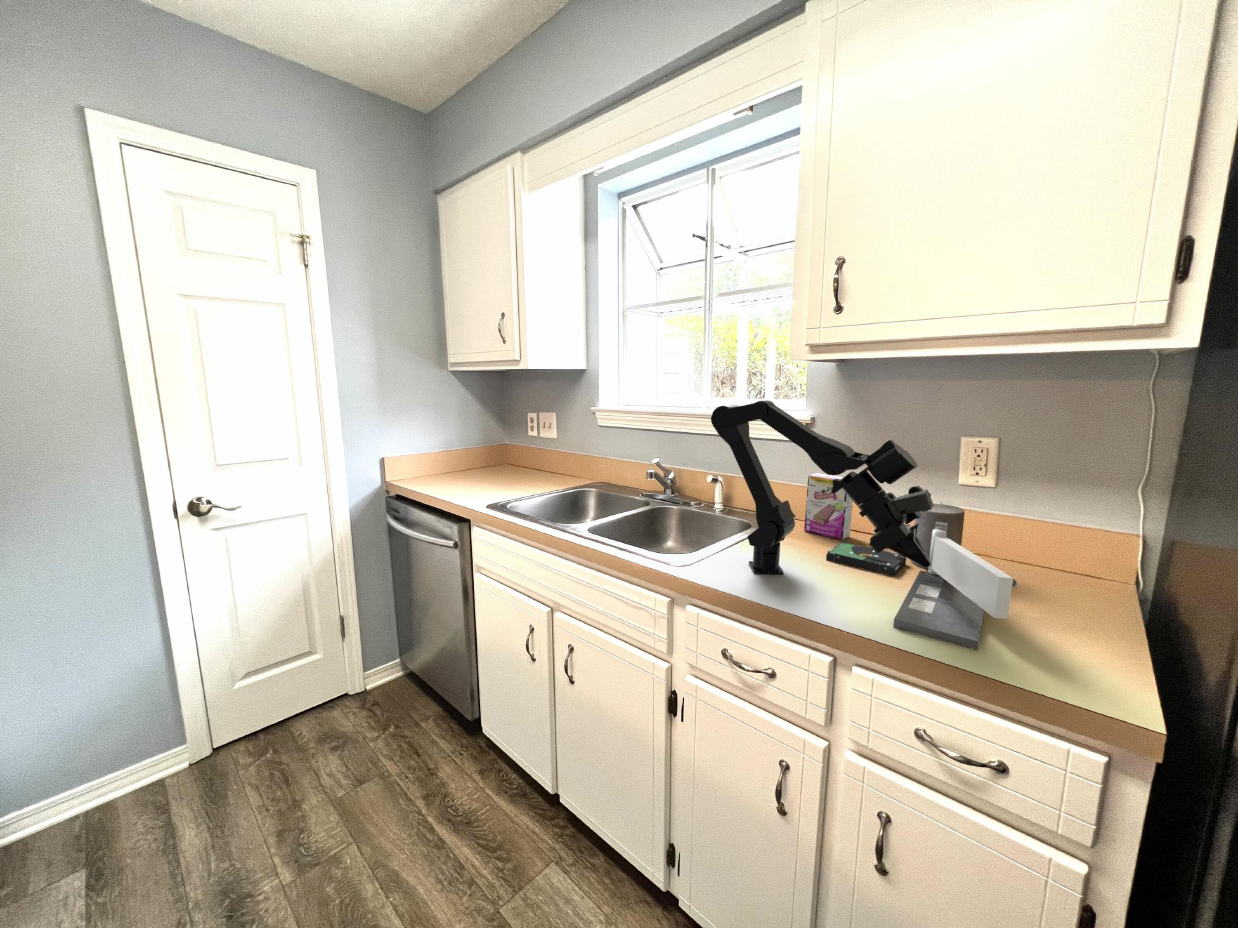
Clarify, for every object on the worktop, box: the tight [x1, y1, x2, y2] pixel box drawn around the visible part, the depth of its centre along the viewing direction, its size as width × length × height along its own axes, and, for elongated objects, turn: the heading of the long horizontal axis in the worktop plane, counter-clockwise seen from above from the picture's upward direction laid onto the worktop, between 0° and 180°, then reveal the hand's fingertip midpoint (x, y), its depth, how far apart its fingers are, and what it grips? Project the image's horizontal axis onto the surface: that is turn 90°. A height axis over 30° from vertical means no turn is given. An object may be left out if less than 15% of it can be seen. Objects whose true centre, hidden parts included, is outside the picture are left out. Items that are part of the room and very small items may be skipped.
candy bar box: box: [803, 473, 854, 541], centre depth 138 cm, size 11×5×16 cm, turn 43°
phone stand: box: [892, 522, 985, 651], centre depth 94 cm, size 12×29×13 cm, turn 142°
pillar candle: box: [910, 502, 966, 570], centre depth 116 cm, size 10×10×15 cm
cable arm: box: [927, 529, 1017, 620], centre depth 93 cm, size 24×4×9 cm, turn 172°
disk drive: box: [825, 541, 907, 577], centre depth 118 cm, size 10×3×15 cm
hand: (928, 565), depth 93 cm, fingers closed
